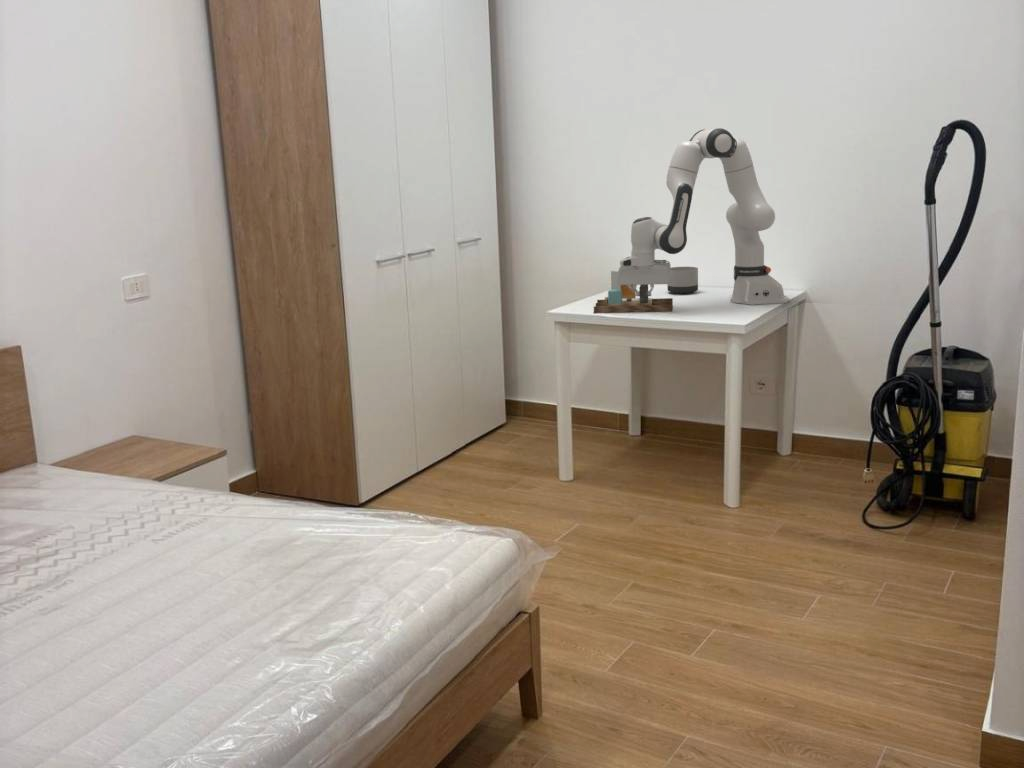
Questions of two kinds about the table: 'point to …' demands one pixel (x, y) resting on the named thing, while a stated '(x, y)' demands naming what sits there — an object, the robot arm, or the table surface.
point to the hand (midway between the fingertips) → (643, 296)
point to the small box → (622, 286)
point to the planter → (683, 280)
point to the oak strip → (642, 301)
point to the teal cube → (615, 296)
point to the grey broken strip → (636, 298)
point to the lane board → (636, 307)
